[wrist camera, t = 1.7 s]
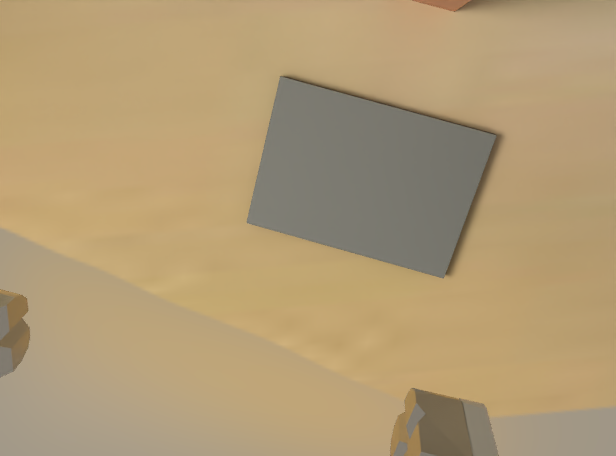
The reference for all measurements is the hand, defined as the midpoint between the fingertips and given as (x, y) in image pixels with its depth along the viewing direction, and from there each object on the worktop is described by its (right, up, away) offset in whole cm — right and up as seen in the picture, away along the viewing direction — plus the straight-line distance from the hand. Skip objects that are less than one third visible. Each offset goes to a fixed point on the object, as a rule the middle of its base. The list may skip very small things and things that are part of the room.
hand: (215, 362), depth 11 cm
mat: (+6, +6, +24) cm, 25 cm away
